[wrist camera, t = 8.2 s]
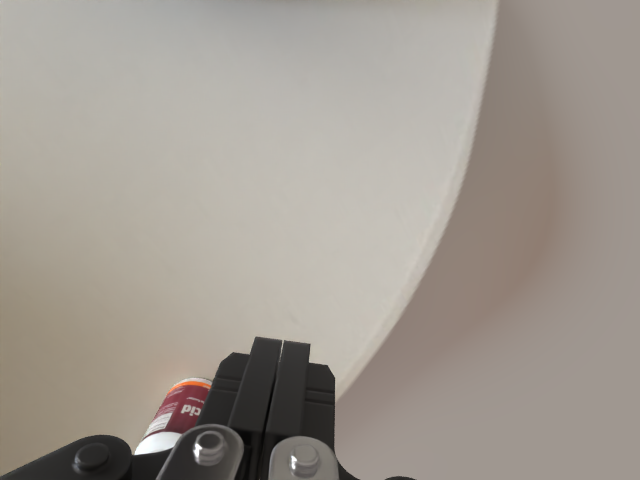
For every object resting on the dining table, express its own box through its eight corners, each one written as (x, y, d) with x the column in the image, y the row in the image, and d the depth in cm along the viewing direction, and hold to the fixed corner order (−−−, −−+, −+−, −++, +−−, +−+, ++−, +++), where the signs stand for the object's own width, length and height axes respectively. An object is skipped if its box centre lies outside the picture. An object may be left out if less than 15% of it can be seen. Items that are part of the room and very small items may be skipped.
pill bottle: (243, 406, 36) (216, 502, 28) (198, 439, 37) (159, 539, 29) (198, 363, 35) (156, 449, 27) (153, 398, 36) (99, 490, 28)
